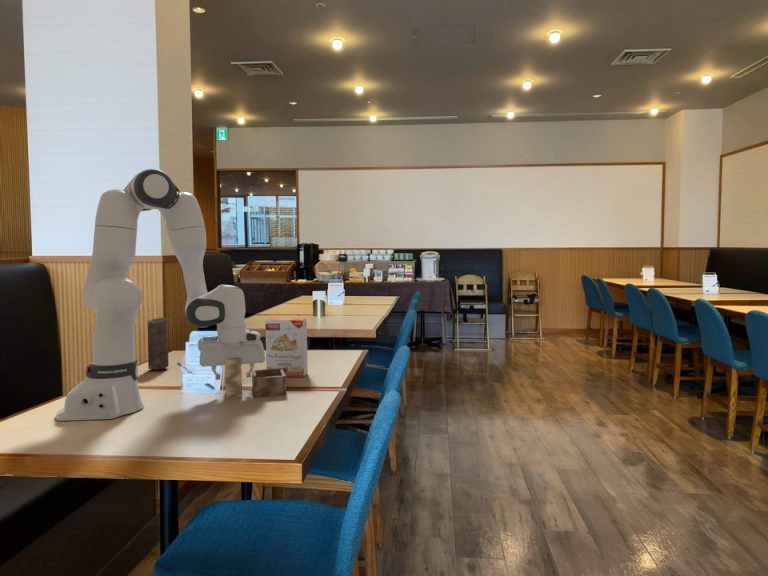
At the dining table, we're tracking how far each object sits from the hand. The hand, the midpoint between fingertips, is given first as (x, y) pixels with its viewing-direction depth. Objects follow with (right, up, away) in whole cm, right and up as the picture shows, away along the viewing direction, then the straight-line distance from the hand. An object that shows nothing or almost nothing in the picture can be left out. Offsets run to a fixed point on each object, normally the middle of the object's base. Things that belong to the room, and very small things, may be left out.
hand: (233, 378), depth 179 cm
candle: (-40, -3, +39) cm, 56 cm away
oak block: (0, -5, 0) cm, 5 cm away
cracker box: (+13, -3, +26) cm, 29 cm away
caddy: (+11, -5, +3) cm, 12 cm away
